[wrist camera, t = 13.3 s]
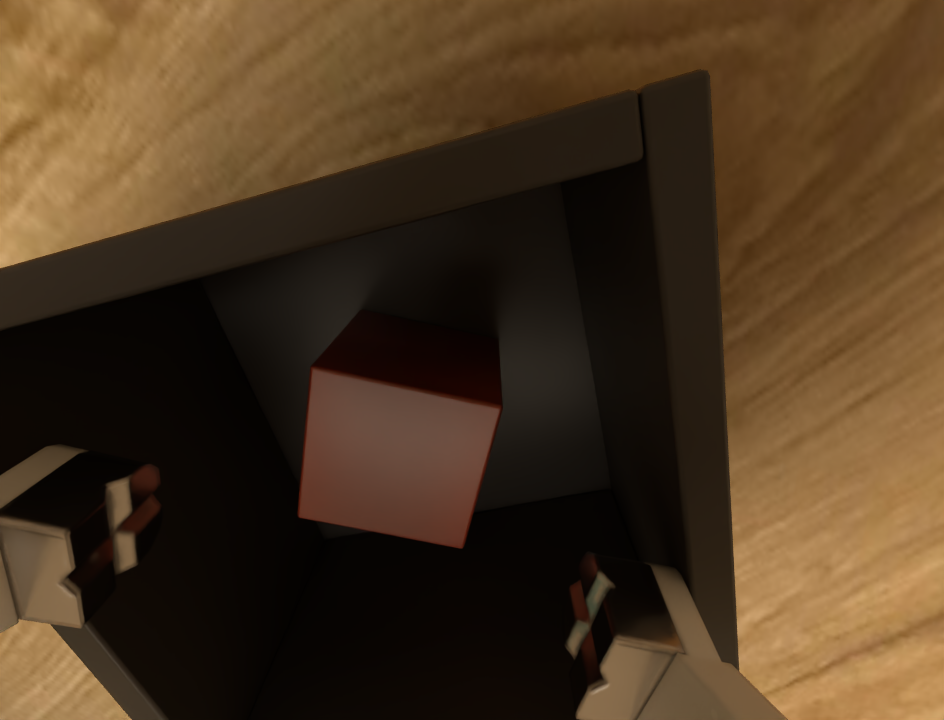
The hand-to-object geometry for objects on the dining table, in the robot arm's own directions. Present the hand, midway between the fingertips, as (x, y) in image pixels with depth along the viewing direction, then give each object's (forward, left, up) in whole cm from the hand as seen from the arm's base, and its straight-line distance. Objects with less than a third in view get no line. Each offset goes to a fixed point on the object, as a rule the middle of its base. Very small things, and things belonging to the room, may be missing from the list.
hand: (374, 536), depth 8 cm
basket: (0, 0, -7) cm, 7 cm away
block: (0, 0, -6) cm, 6 cm away
